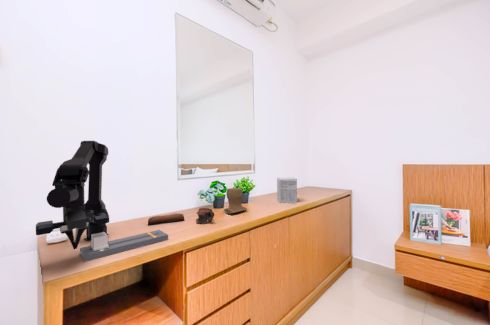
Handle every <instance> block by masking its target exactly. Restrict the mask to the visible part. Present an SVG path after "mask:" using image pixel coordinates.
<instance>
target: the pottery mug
mask: <svg viewBox="0 0 490 325" xmlns="http://www.w3.org/2000/svg"><path fill="white" fill-rule="evenodd" d="M196 215H197V216H198V218H196V219H195V221H196V224H203V225H207V223H209V222H212V221H213V219H214V217H215V212H213V209H211V208H208V207H201V208H199V209H198V211H197V212H196Z"/></svg>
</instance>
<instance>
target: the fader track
mask: <svg viewBox="0 0 490 325" xmlns="http://www.w3.org/2000/svg"><path fill="white" fill-rule="evenodd" d="M168 240H169V234H168V233H166V232H165V231H162V230H160V229H157V230H152V231H147V232H143V233H139V234H135V235H129V236H127V237H126V236H125V237H122V238H121V237H120V238H117V239H113V240H108V245H109V248H105V249H101V250H97V251H93V249H92V248H91V246H90V245H87V246H83V247H79V249H80V256H81V257H82V260H83V262H87V261H88V262H89V261H93V260H95V259H100V258H104V257H107V256H110V255H114V254H119V253H123V252H127V251H130V250H134V249H137V248H142V247H146V246H149V245H152V244H153V245H154V244H157V243H160V242H163V241H168Z"/></svg>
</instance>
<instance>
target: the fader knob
mask: <svg viewBox="0 0 490 325" xmlns="http://www.w3.org/2000/svg"><path fill="white" fill-rule="evenodd" d="M107 234H108V233H107ZM107 234H106V233H105V232H102V233H97V234H92V235H91V240H90V241H91V243H90V244H89V246H91V248H92V249H93V251H97V250H101V249H105V248H109V245H108V241H109V240H108V238H109V237H108V236H109V235H107Z"/></svg>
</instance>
